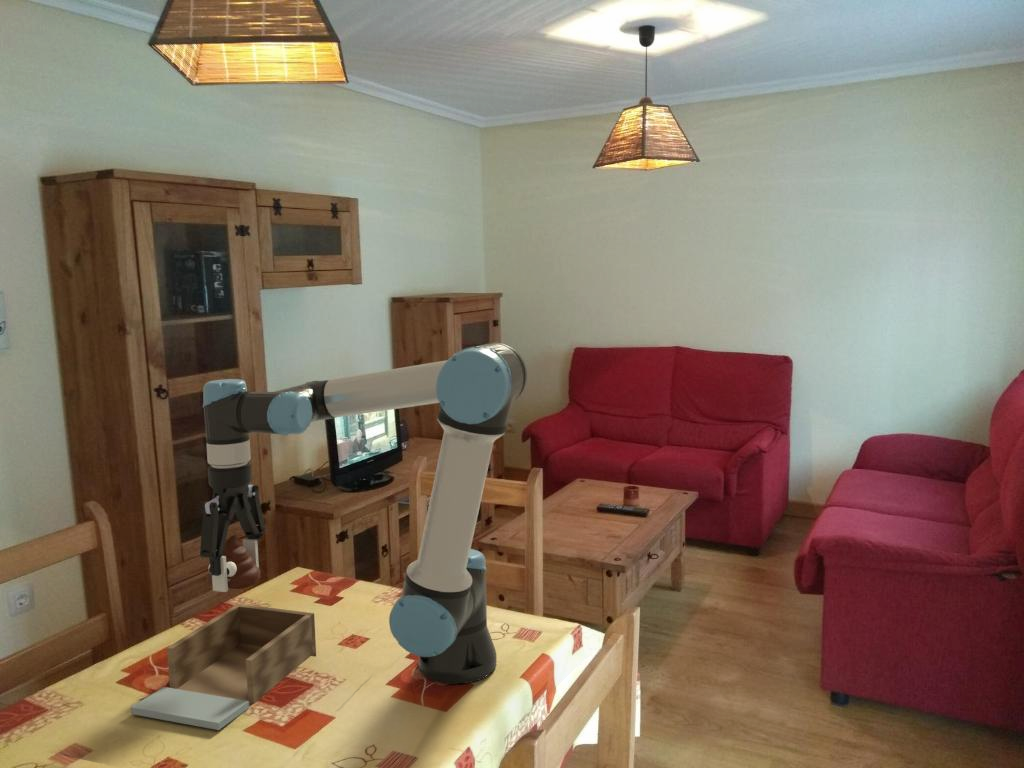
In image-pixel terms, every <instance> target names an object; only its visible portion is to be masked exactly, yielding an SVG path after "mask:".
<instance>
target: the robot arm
mask: <svg viewBox="0 0 1024 768" xmlns="http://www.w3.org/2000/svg"><path fill="white" fill-rule="evenodd" d="M527 380H528V370H527V366H526V363H525V361H524V359H523V357H522V355H521V354H520V353H519V352H518V351H517V350H516V349H515V348H513V347H511V346H509V345H507V344H504V343H501V342H488V343H484V344H481V345H478V346H470V347H466V348H463V349H461V350H460V351H457V352H456V353H454V354H453V355H452V356H451V357H450V358H449V359H447V360H442V361H441V360H440V361H434V362H428V363H423V364H417V365H411V366H405V367H403V366H402V367H398V368H393V369H392V368H391V369H386V370H381V371H376V372H375V371H374V372H373V371H372V372H368V373H362V374H356V375H350V376H344V377H337V378H331V379H326V380H313V381H308V382H305V383H303V384H299V385H295V386H291V387H286V388H284V389H280V390H276V391H250V390H248V388H247V382H246V381H245V380H243V379H238V378H237V379H236V378H225V379H216V380H210V381H207V382H206V383H205V384H204V385H203V387H202V392H203V393H202V394H203V396H202V397H203V404H202V410H203V417H204V418H203V419H204V427H205V434H206V435H205V442H206V456H207V457H206V458H207V459H206V460H207V464H209V466H208V468H207V478H208V485H209V487H211V488H212V490H213V495H212V499H211V500H209V501H202V502H201V511H202V520H201V521H202V523H201V524H202V525H201V534H200V549H199V551H200V552H199V556H200V557H201V558H207V559H208V560H209V564H210V573H211V575H212V584H213V587H212V591H213V592H221V593H226V592H227V593H228V591H229V588H228V581H227V565H226V556H222V555H223V550H224V546H225V541H226V539H227V536H228V532H229V527H230V522H231V521H232V520H233V519H234V516H236V517H237V520H238V522H239V525H240V527H241V529H242V532H243V534H244V536H245V537H246V538H244V539H242V545H243V546H244V547H246V549H247V551H248V553H249V555H250V556H251V557H252V559H253V561H254V564H255V565H256V566H257V567H258V568H259V569H260V564H259V563H260V562H259V540H262V539H263V538H264V533H265V531H266V525H265V521H264V516H263V510H262V506H261V500H260V486H259V485H258V484H251V483H252V480H253V479H252V478H253V477H252V475H253V474H252V465H251V463H250V462H249V461H250V460H252V459H251V458H252V456H251V455H252V453H251V445H250V444H251V443H250V440H251V439H250V434H267V435H282V436H288V435H301V434H303V433H305V432H306V431H307V429H308V428H309V427H310V425H311V423H314V422H319V421H323V420H331V419H336V418H340V417H341V418H343V417H349V416H355V415H356V416H357V415H362V414H368V413H369V414H371V413H376V412H383V411H391V410H397V409H403V408H404V409H405V408H410V407H419V406H424V405H433V404H439V410H438V415H437V418H436V420H437V422H438V423H439V425H440V426H441V428H442V429H443V435H442V441H441V444H440V449H439V454H438V459H437V464H436V469H435V474H434V478H433V479H434V480H433V484H432V489H431V493H430V499H429V501H428V502H429V503H428V507H427V513H426V518H425V522H424V528H423V533H422V537H421V543H420V548H419V553H418V556H417V559H415V560H414V561H412V562H411V563H410V564H408V566H407V568H406V572H405V577H404V581H403V586H402V591H401V595H400V597H399V598H398V599H397V600H396V601H395V603H394V604H393V606H392V609H391V610H390V613H389V616H388V617H389V618H388V619H389V620H388V621H389V622H388V623H389V629H390V633H391V635H392V636H393V638H394V639H395V640H396V641H397V643H398V645H399V646H400V647H401V648H402V649H404V651H406V652H408V653H410V654H412V655H415V656H417V657H418V669H419V670H418V671H419V672H420V673H421V675H422V676H423V677H425V678H426V679H427V680H430V681H432V682H436V683H440V684H445V683H448V684H447V685H458V684H457V683H463V684H466V683H465V682H470V683H472V682H471V681H474V682H476V681H475V680H477V681H479V680H478V679H480V680H482V679H484V678H483V677H485V676H486V675H488V674H490V673H491V672H492V671H493V670H494V669H496V668H497V664H496V663H498V662H497V650H496V648H495V645H494V642H493V639H492V636H491V632H489V628H488V620H487V570H488V569H487V566H486V565H487V564H486V558H485V555H484V554H483V553H482V552H481V551H479V550H476V549H473V548H472V543H473V539H474V534H475V531H476V530H475V529H476V525H477V521H478V518H479V517H478V516H479V511H480V507H481V502H482V498H483V493H484V488H485V483H486V479H487V475H488V471H489V470H488V469H489V466H490V463H491V462H490V460H491V457H492V452H493V447H494V443H495V442H496V440H498V439H499V438H501V437H503V436H504V435H506V431H507V430H506V429H507V427H508V426H507V425H508V421H509V415H510V412H511V408H512V404H513V403H515V402H516V401H517V400H518V399H519V398H520V396H521V395H522V394H523V393H524V391H525V389H526V386H527ZM495 667H496V668H495ZM494 671H495V670H494ZM494 671H493V672H494ZM493 672H492V673H493ZM492 673H491V674H492ZM491 674H490V675H491ZM488 676H489V675H488ZM486 677H487V676H486ZM486 677H485V678H486ZM481 678H482V679H481Z"/></svg>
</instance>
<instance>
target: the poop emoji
mask: <svg viewBox="0 0 1024 768" xmlns="http://www.w3.org/2000/svg"><path fill="white" fill-rule="evenodd" d="M222 556H226V565H227V581H228V589H229V590H240V589H246V588H249V587H252V586H253V585H255V584H256V583H257V582H259V580H260V579H261V570H260V567H259V568H258V567H257V566H256V565H255V564H254V561H253V559H252V557H251V556H250V555H249V553H248V551H247V549H246V547H244V546H243V544H241V541H239V539H238V536H237V534H233V535H230V536H229V537H228V538H226V541H225V546H224V550H223V555H222ZM207 569H208V571H207V574H206V583H207V584H208V585H209V586H210V587H212V588H213V584H212V575H211V573H210V563H209V565H208V568H207Z"/></svg>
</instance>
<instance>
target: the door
mask: <svg viewBox="0 0 1024 768" xmlns="http://www.w3.org/2000/svg"><path fill="white" fill-rule="evenodd" d="M249 708H250V703H249V701H245V700H239V699H233V698H227V697H221V696H215V695H209V694H203V693H198V692H192V691H186V690H180V689H174V688H170V687H168V686H163V687H161V688H160V689H157V690H156V691H155V692H153V693H151V694H150V695H148V696H147V697H145V698H143V699H142V700H140V701H139V702H136V703H134V704H133V705H131V706H130V714H131V715H134V716H135V715H136V716H140V717H145V718H151V719H157V720H161V721H167V722H173V723H178V724H184V725H189V726H194V727H195V726H196V727H200V728H205V729H210V730H217V731H220V730H222V728H224V727H225V726H227V725H228V724H229V723H231V722H232V721H233V720H235V719H236V718H237V717H239V716H240V715H242V713H244V712H245V711H247V710H248V709H249Z"/></svg>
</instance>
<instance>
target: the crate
mask: <svg viewBox="0 0 1024 768" xmlns="http://www.w3.org/2000/svg"><path fill="white" fill-rule="evenodd" d="M315 621H316V620H315V613H314V612H306V611H301V610H300V611H299V610H293V609H282V608H275V607H267V606H258V605H251V604H242V603H236V604H235V605H233V606H232V607H230V608H228V609H227V610H225V611H224V612H222V613H221V614H218V615H217V616H216V617H214V618H212V619H211V620H209V621H208V622H206V623H204V624H203V625H201V626H200V627H198V628H196V629H194V630H192V632H189V633H188V634H186V635H185V636H184V637H182V638H180V639H178V640H177V641H175V642H174V643H173V644H171V645H169V646H167V647H166V652H167V653H166V655H167V664H168V665H167V666H168V667H167V668H168V680H169V688H174V689H180V690H186V691H192V692H198V693H203V694H209V695H215V696H221V697H227V698H233V699H239V700H245V701H249V704H255V703H257V702H258V701H259V700H260V699H261V698H263V697H264V696H265V695H266V694H267V693H269V692H270V691H271V690H272V689H273V688H275V687H276V686H277V685H278V684H279V683H281V682H282V681H283V680H284V679H285V678H287V677H288V676H289V675H290V674H291V673H292V672H294V670H296V669H297V668H299V666H300V665H302V664H303V663H304V662H306V660H307V659H309V658H311V657H315V658H316V657H317V645H316V644H317V643H316V641H317V639H316V625H315V624H316V622H315Z"/></svg>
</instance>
